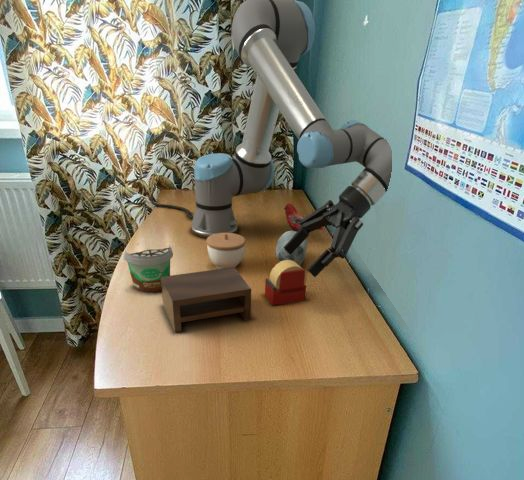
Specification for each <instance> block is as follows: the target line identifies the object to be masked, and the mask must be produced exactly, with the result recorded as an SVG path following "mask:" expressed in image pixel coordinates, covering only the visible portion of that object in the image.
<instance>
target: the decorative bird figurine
mask: <svg viewBox="0 0 524 480" xmlns="http://www.w3.org/2000/svg"><path fill="white" fill-rule="evenodd" d="M283 209H284V212H285V217H286V222H287V224H288V226H289V228H290V229H291V231H296V232H298V231H299V229H300V226H301V225H300V224H299V221H300V220H302V219H303V218H305V217H303V215H301V214H300V213H299V212H298V211H297V209H296V207H295V206H294V205H293V204H292V203H286V205H285V207H283ZM305 223H306V222H305ZM318 230H321V231H322V230H324V227H322V228H320V229H317V230H316V231H318Z"/></svg>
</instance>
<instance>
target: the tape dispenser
mask: <svg viewBox="0 0 524 480" xmlns="http://www.w3.org/2000/svg"><path fill="white" fill-rule="evenodd" d="M307 278H308V277H307V273H306V269H305V268H302V267H301V265H300V266H299V265H298V264H297V262H294V261H292V260H284V261H281V262H280V261H279V262H278V263H276V264H272V269H271V271H270V273H269V279H268V278H265V282H264V297H265V298H266V299H267V300H268V302H269V303H270V304H271V305H272V306H276V305H282V304H288V303H294V302H301V301H305V300H306V296H307V295H306V294H307V285H306V284H307V280H308V279H307Z"/></svg>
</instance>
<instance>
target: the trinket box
mask: <svg viewBox="0 0 524 480" xmlns="http://www.w3.org/2000/svg"><path fill="white" fill-rule="evenodd" d="M245 247H246V238H245V237H244V236H242V235H241V234H238V233H236V234H234V233H217V234H213V235H210V236H209V237H208V238H206V250H207V256H208V258H209V260H210V262H211V263H212V264H213V265H214V266H215V267H216V269H224V268H231V267H234V268H235V269H236V268H237V266H239V264H240V263H241V262H242V260H243V258H244V255H245V251H246V250H245V249H246V248H245Z"/></svg>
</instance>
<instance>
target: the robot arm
mask: <svg viewBox="0 0 524 480" xmlns="http://www.w3.org/2000/svg"><path fill="white" fill-rule="evenodd" d="M313 15H314V14H313V12H312V11H311V8H310V7H309V6H308V5H307V4H306V3H305V2H303V1H301V0H244V1H243V2H242V3H241V4H240V5H239V7H238V8H237V9H236V11H235V14H234V16H233V19H232V24H231V36H232V42H233V46H234V48H235V50H236V52H237V54H238V56H239V58H240V59H241V61H242V63H243V64H244V65H246V66H247V67H250V68H251V69H252V70H253V71H254V73H255V75H256V79H255V83H254V87H253V91H252V97H251V101H250V105H249V110H248V115H247V119H246V122H245V123H246V124H245V129H244V133H243V138H242V141H241V143H239V144H238V145H237V146H236V147H235V151H234V155H233V157H232V156H231V155H230V154H229V153H222V152H218V153H209V154H205V155H202V156H200V157H199V158H197V159H196V161H195V162H194V168H193V170H194V171H193V178H194V194H195V210H194V212H193V213H194V214H193V215H191V212H190V210H189V209H187V207H183V206H178V205H172V204H165V203H157V202H155V201H154V196H153V195H151V196H150V198H149V199H150V203H151V205H153V206H156V207H161V208H171V209H176V210H181V211H184V212H186V216H187V218H189V219H191V224H190V227H191V233H192V234H193V235H195V236H196V237H199V238H203V239H207V238H208V237H209V236H210V235H213V234H217V233H234V234H238V233H237V232H238V219H236V216H235V214H234V213H235V212H234V210H233V197H237V196H238V197H239V196H244V195H249V194H258V193H260V192H263V191H265V190H267V189H268V188H270V186H271V185H272V183H273V182H274V178H275V169H274V167H275V164H274V161H273V159H272V154H271V153H270V151H269V150H270V147H271V143H272V139H273V136H274V130H275V129H276V124H277V120H278V117H279V113H281V115H282V116H283V118H284V119H285V121H286V122H287V124H288V127H290V129H291V131H292V132H293V134H294V135H295V137H296V139H297V140H298V141H297V146H296V153H297V154H298V160H299V162H300V164H301V165H302V166H304V167H305V168H308V169H324V168H326V167H331V166H335V165H342V164H343V165H345V164H349V163H355V162H356V163H358V164H359V165H361V166H362V167H364V169H362V171H361V172H360V173H359V174H358V175H357V177H356V178H354V179H353V181H352V182H351V185H348V186H347V187H346V188H345V189H343V191H342V192H341V193H340V194H339V195H338V202H337V203H334V202H333V200H331V199H329V200H327V202H325V203H324V204H323V205H322V206H320V207H319V208H317V209H316V210H314V211H313V212H311V213H309V214H308V215H307V216H305V217H304V218H303V219H302V220H300V221H299V224H300V225H301V226H300V229H299V231H298V232H297V233H296V234H295V235H294V236H293V237H292V239H291V240H290V241H289V242H288V243H287V244H286V245H285V246H284V247H283V248H284V249H285V250H286V251H287V252H288V253H289V254H290V255H291V254H292V253H293V252H294V251H295V250H296V249H297V248H298V247H299V245H300V244H301V243H302V242H303V241H304V240H305V239H306V240H307V238H308V237H309V236H310V234H311V233H312V232H315V231H318V230H317V229H320V228H325V227H327V226H329V227H330V226H332V227H333V228H335V230H334V233H333V237H332V240H331V244H330V247H327V248H326V249H325V250H324V251H323V252H322V253H321V254H320V255H319V256H318V257H317V259H316V260H315V261H314V262H313V263H311V265H310V266H309V267H308V268H307V272H308V273H310V274H311V275H312V276H313V277H314V278H316V277H318V275H319V274H320V273H321V272H322V271H323V270H324V269H325V268H327V267H328V266H329V265H331V263H332V262H333V261H334V260H335V259H336V258H337V259H338V258H340V259H345V258H346V256H347V255H348V252H349V250H350V248H351V246H352V244H353V242H354V240H355V238H356V236H357V234H358V232H359V231H360V230H361V228H362V227H363V226H364V222H363V221H362V220H361V219H362V218H363V217H364V216H365V215H366V214H367V213H368V212H369V211H370V210H371V207H372V206H375V205H376V204H377V203H378V202H379V200H381V198H382V197H383V196H384V195H386V193H387V191H388V190H389V189H388V186H389V182H390V178H391V172H392V150H391V147H390V145H389V143H388V142H387V140H388V139H387V138H385V137H383V136H381V134H379V133H377V132H376V131H374V130H373V129H372V128H370V127H369V126H368V125H366V124H365V123H363V122H361V121H358V120H356V119H350V120H348V121H347V122H346V123H344V124H342V125H341V127H340V128H338V129H333V128H332V126H331V125H330V123H329V121H327V119H326V117H325V116H324V115H323V113H322V111H321V110H320V108H319V107H318V105H317V104H316V101H314V99H313V98H312V96H311V95H310V93H309V92H308V90H307V88H306V87H305V85H304V83H303V82H302V81H301V79H300V78H299V76H298V75H297V73H296V72H295V69H297V66H298V64H299V61H300V58H301V56H303V55H305V54H307V53H308V52H309V51H310V50H311V48H312V46H313V44H314V40H315V35H316V26H315V20H314V16H313ZM384 138H385V139H384ZM386 139H387V140H386ZM384 188H385V189H384ZM387 189H388V190H387ZM305 222H306V223H305Z"/></svg>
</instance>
